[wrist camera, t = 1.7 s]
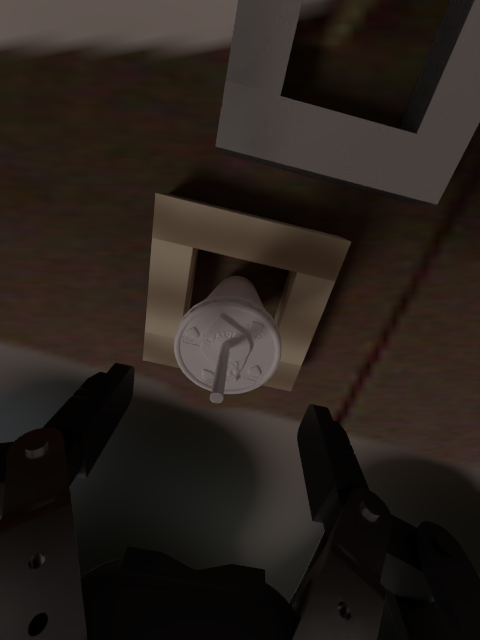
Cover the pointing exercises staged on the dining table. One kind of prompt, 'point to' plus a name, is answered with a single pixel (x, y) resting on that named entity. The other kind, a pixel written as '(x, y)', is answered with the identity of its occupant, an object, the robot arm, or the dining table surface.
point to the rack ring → (344, 130)
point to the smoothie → (228, 340)
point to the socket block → (248, 244)
